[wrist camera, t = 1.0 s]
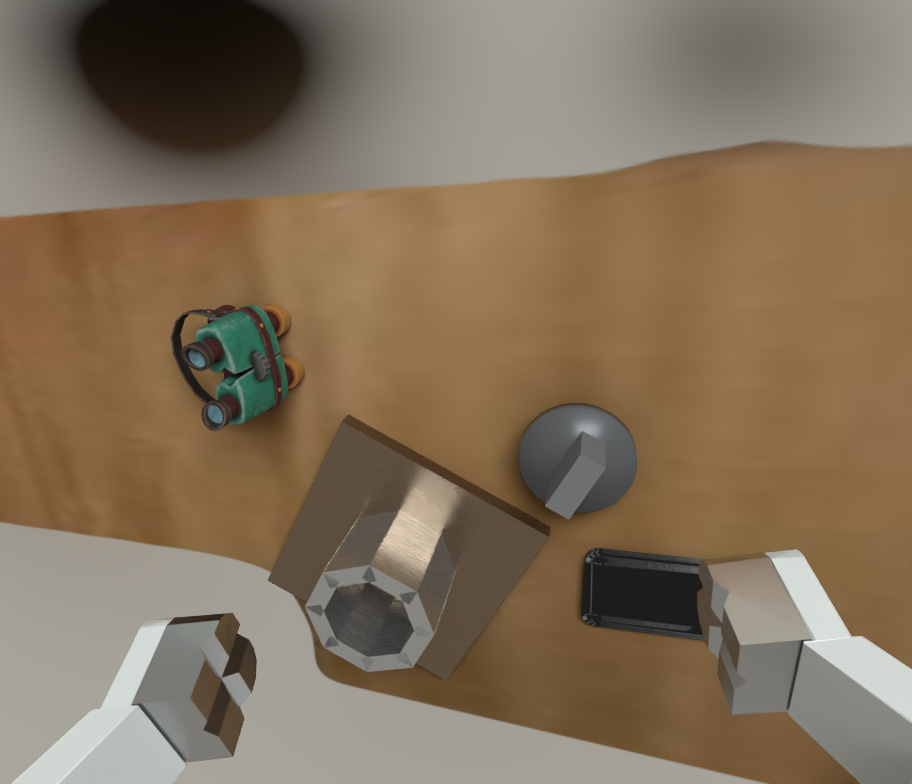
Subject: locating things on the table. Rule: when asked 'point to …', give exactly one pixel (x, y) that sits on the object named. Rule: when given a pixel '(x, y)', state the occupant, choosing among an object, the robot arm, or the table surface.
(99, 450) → the table surface
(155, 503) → the table surface
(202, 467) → the table surface
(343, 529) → the square base plate
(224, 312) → the binoculars
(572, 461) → the grey dial knob
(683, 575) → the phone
